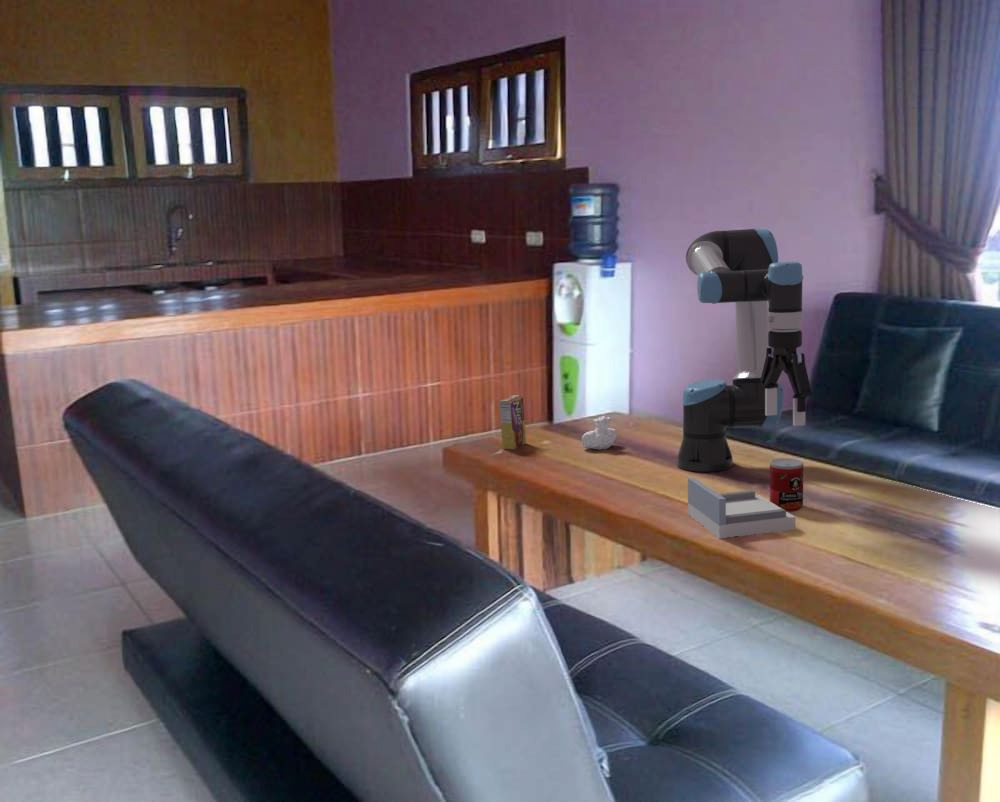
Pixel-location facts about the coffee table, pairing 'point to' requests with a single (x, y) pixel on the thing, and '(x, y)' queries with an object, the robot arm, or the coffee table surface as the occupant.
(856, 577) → the coffee table surface
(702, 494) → the dock
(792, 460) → the canned food
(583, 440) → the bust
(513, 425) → the candy box
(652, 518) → the coffee table surface
